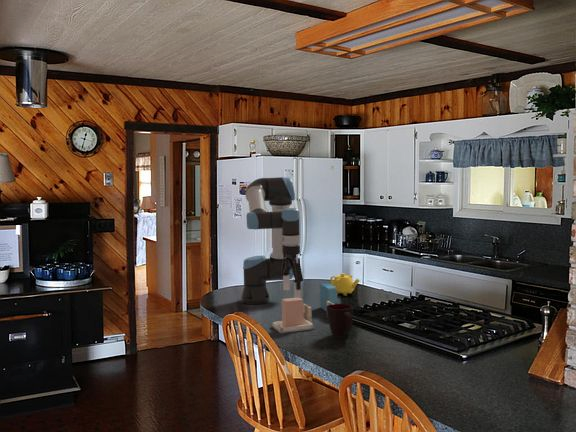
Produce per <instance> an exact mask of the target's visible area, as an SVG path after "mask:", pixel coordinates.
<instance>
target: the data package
mask: <svg viewBox="0 0 576 432" xmlns="http://www.w3.org/2000/svg"><path fill="white" fill-rule="evenodd" d="M319 292H320V293H319V295H320V296H319V297H320V298H319V301H320V308H321V309H322V310H324V311H325V312H326V313H327V301H330V302H332V303H334V304H338V295H337V288H336V287H335V286H333V285H331V283H321V284H320V286H319Z"/></svg>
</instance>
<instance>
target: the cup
mask: <svg viewBox="0 0 576 432" xmlns="http://www.w3.org/2000/svg"><path fill="white" fill-rule="evenodd" d="M353 313H354V307H353V306H352V305H350V304H348V303H337V304H332V305H328V306H327V312H326V316H327V315H328V316H327V319H328V320H327V321H328V325H329V329H330V332H331V335H332V336H333V337H335V338H346V337H348V336H349V333H350V331H352V328H353V316H354V315H353Z"/></svg>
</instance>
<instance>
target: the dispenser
mask: <svg viewBox="0 0 576 432" xmlns="http://www.w3.org/2000/svg"><path fill="white" fill-rule="evenodd" d="M332 304H334V303H332V302H330V301H327V306H328V305H332ZM312 312H313V311H312V307H311V306H310V305H308V304H306V303H303V318H304V319H306V320H308V321H309V322H311V323H312V322H313V321H312ZM326 317H328V315H327V314H326ZM312 324H313V323H312Z"/></svg>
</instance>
